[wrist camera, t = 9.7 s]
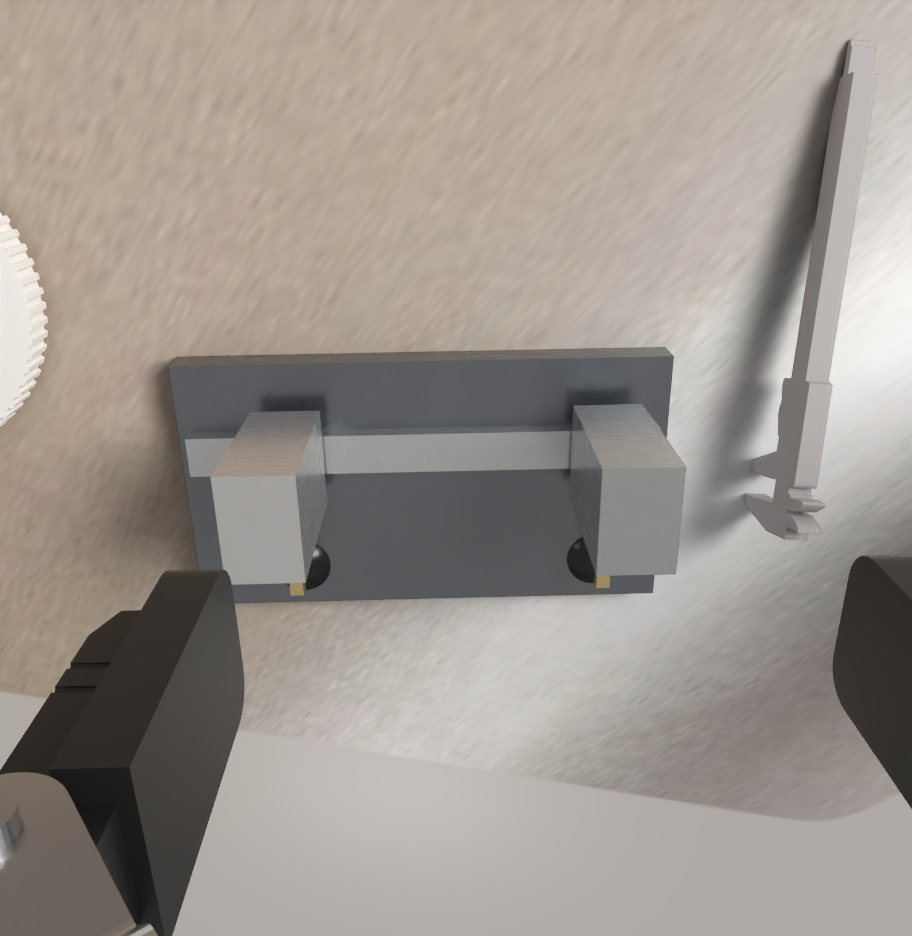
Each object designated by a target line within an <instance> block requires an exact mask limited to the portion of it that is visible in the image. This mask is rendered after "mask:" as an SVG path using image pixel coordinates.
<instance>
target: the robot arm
mask: <svg viewBox="0 0 912 936" xmlns="http://www.w3.org/2000/svg"><path fill="white" fill-rule="evenodd" d="M833 677H834V684H835V688H836V692H837V695H838V698H839V700H840V703H841V705H842V706H843V708H844V710H845V711H846V713H847V714H848V716H849V717H850V719H851V720H852V722H853V723H854V724H855V726H856V727H857V729H858V730H859V732H860V733H861V735H862V736H863V738H864V739H865V741H866V742H867V744H868V745H869V747H870V748H871V750H872V751H873V752H874V754H875V755H876V757H877V758H878V760H879V761H880V763H881V764H882V766H883V767H884V769H885V770H886V772H887V773H888V775H889V776H890V777H891V779H892V780H893V782H894V783H895V785H896V786H897V788H898V789H899V791H900V792H901V794H902V795H903V797H904V798H905V800H906V801H907V803H908V804H909V805H910V807H911V808H912V555H879V556H861V557H859V558H857V559H856V561H855V562H854V563H853V565H852V567H851V570H850V573H849V578H848V583H847V588H846V594H845V599H844V604H843V609H842V615H841V620H840V625H839V630H838V636H837V641H836V646H835V651H834V657H833ZM243 701H244V671H243V663H242V656H241V649H240V641H239V634H238V626H237V619H236V612H235V604H234V597H233V589H232V584H231V579H230V576H229V574H228V572H227V571H226V570H184V571H166V572H164V573H163V574H162V576H161V577H160V579H159V581H158V582H157V584H156V586H155V588H154V589H153V591H152V593H151V594H150V596H149V598H148V600H147V601H146V603H145V605H144V606H143V608H142V610H138V611H121V612H119V613H118V614H117V615H115V616H114V617H113V618H111V619H110V620H109V621H107V622H106V623H105V624H103V625H102V626H101V627H99V628H98V629H97V630H95V631H94V632H93V633H91V634H90V635H89V636H88V637H87V639H86V640H85V642H84V644H83V645H82V647H81V648H80V650H79V651H78V653H77V654H76V656H75V657H74V659H73V660H72V662H71V668H70V669H66V671H65V673H64V674H63V676H62V677H61V679H60V680H59V682H58V683H57V685H56V686H55V693H51V694H50V695H49V697H48V698H47V700H46V702H45V703H44V705H43V706H42V708H41V709H40V711H39V712H38V714H37V715H36V717H35V718H34V720H33V721H32V723H31V725H30V726H29V728H28V729H27V731H26V732H25V734H24V735H23V737H22V738H21V740H20V741H19V743H18V744H17V746H16V747H15V749H14V751H13V752H12V753H11V755H10V756H9V758H8V759H7V761H6V763H5V764H4V766H3V767H2V769H1V770H0V936H172V934H173V931H174V928H175V925H176V922H177V919H178V916H179V912H180V909H181V906H182V903H183V900H184V897H185V893H186V890H187V887H188V884H189V881H190V878H191V875H192V871H193V868H194V865H195V862H196V859H197V856H198V853H199V849H200V846H201V843H202V840H203V837H204V834H205V830H206V827H207V824H208V821H209V817H210V815H211V812H212V808H213V805H214V802H215V799H216V796H217V793H218V789H219V786H220V783H221V780H222V777H223V774H224V771H225V767H226V764H227V761H228V758H229V755H230V752H231V749H232V745H233V742H234V739H235V736H236V733H237V730H238V727H239V723H240V720H241V715H242V709H243Z"/></svg>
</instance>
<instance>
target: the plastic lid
mask: <svg viewBox="0 0 912 936" xmlns="http://www.w3.org/2000/svg"><path fill="white" fill-rule="evenodd" d="M9 223H10V219H9V218H8V216H7V215H5V216H3V215H2V214H1V213H0V427H1V426H2V425H4V424H5V423H6V422H7V420H9V419H10V418H11V417H13V416H14V415H15V414H16V412H15V411H17V410H18V409H20V408H21V407H22V406H23V404H24V403H23V401H24V400H25V399H27V398H28V397H29V396H30V394H31V393H30V392H29V390H30V389H32V388H33V387H35V385H36V381H35V380H34V379H35V378H36V377H38V376H39V375H40V373H41V370H40V369H39V368H38V367H39V365H41V364H42V363H44V359H45V358H44V357H43V356H42V352H44V351H45V350H46V348H47V344H45V343H44V338H46V337H47V336H48V331H47V330H45V329H44V324H46V323H48V319H47V316H45V315H44V314H43V310H44V309H46V303H45V302H43V301H42V300H41V295H42V294H44V292H43V288H42V287H39V286H38V283H37V280H39V279H40V278H39V275H38V273H36V272H34V271H33V268H32V266H33V265H34V261H33V259H32V258H28V256H27V254H26V251H27V250H28V249H27V247H26V245H25V244H24V243H20V241H19V239H18V237H19V236H20V234H19V233H18V231H17V230H16V229H12V228H11V227H10V225H9Z"/></svg>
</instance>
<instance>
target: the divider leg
mask: <svg viewBox="0 0 912 936" xmlns="http://www.w3.org/2000/svg"><path fill="white" fill-rule="evenodd" d="M211 485H212V492H213V499H214V506H215V513H216V521H217V528H218V535H219V542H220V550H221V557H222V564H223V570H226V571H227V572H228V574H229V576H230V579H231V584H232V585H239V584H280V583H289V584H290V593H291V596H297V595H304V593H305V590H306V585H305V583H306V580H307V576H308V572H309V568H310V565H311V561H312V557H313V554H314V550H315V546H316V543H317V539H318V535H319V532H320V528H321V524H322V521H323V517H324V513H325V510H326V506H327V494H326V481H325V469H324V456H323V444H322V432H321V419H320V411H281V412H250V413H249V415H248V416H247V418H246V419H245V421H244V423H243V424H242V426H241V428H240V429H239V431H238V433H237V434H236V436H235V438H234V439H233V441H232V443H231V444H230V446H229V448H228V449H227V451H226V453H225V454H224V456H223V457H222V459H221V461H220V462H219V464H218V466H217V467H216V469H215V471H214V472H213V474H212V476H211Z"/></svg>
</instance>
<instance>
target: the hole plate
mask: <svg viewBox="0 0 912 936" xmlns="http://www.w3.org/2000/svg"><path fill="white" fill-rule="evenodd" d="M673 358H674V356H673V355H672V354H671V353H670V352H669V351H668V350H667V349H666V348H665V347H652V348H602V349H551V350H500V351H449V352H398V353H347V354H296V355H245V356H195V357H177V358H176V359H175V360H174V361H173V362H172V363H171V364H170V365H169V366H168V368H169V375H170V381H171V388H172V395H173V401H174V408H175V414H176V421H177V428H178V434H179V441H180V448H181V454H182V461H183V467H184V474H185V481H186V487H187V494H188V500H189V507H190V514H191V520H192V527H193V534H194V540H195V547H196V553H197V560H198V567H199V570H223V564H222V557H221V550H220V542H219V535H218V528H217V521H216V513H215V506H214V499H213V492H212V485H211V476H212V474H213V472H214V471H215V469H216V467H217V466H218V464H219V462H220V461H221V459H222V457H223V456H224V454H225V453H226V451H227V449H228V448H229V446H230V444H231V443H232V441H233V439H234V438H235V436H236V434H237V433H238V431H239V429H240V428H241V426H242V424H243V423H244V421H245V419H246V418H247V416H248V415H249V413H250V412H281V411H320V419H321V432H322V444H323V456H324V469H325V481H326V494H327V506H326V510H325V513H324V517H323V521H322V524H321V528H320V532H319V535H318V539H317V543H316V546H315V550H314V554H313V557H312V561H311V565H310V568H309V572H308V576H307V580H306V583H305V585H306V590H305V593H304V595H297V596H291V593H290V584H289V583H280V584H239V585H232V589H233V597H234V603H258V602H299V601H340V600H382V599H423V598H464V597H506V596H547V595H588V594H630V593H653V584H654V575H616V576H610V586H609V588H596V586H595V583H594V573H595V571H594V568H593V565H592V562H591V559H590V556H589V553H588V550H587V548H586V545H585V542H584V539H583V536H582V533H581V530H580V527H579V524H578V521H577V518H576V516H575V513H574V510H573V507H572V504H571V501H570V498H569V493H570V469H571V446H572V422H573V405H620V404H643V406H644V407H645V409H646V410H647V412H648V413H649V414H650V416H651V417H652V419H653V420H654V422H655V423H656V424H657V426H658V427H659V429H660V430H661V432H662V433H663V435H664V436H665V437H667V426H668V415H669V404H670V392H671V381H672V370H673Z"/></svg>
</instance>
